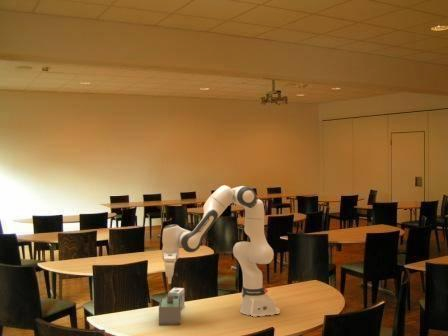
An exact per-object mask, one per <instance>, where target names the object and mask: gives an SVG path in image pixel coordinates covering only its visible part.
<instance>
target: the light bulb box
mask: <svg viewBox="0 0 448 336" xmlns="http://www.w3.org/2000/svg"><path fill="white" fill-rule="evenodd" d="M170 295H171V296H173V299H181V310H183V309H184V307H185V288H184V287H173V288H171V290H169V292H168V293H167V296H170Z"/></svg>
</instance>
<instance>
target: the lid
mask: <svg viewBox="0 0 448 336" xmlns="http://www.w3.org/2000/svg"><path fill="white" fill-rule="evenodd" d="M161 299H162V303H161V307H179V299H173V296H171V295H170V296H169V295H167V296H166V298H161Z"/></svg>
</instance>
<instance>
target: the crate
mask: <svg viewBox="0 0 448 336" xmlns="http://www.w3.org/2000/svg"><path fill="white" fill-rule="evenodd" d="M162 299H163V298H160V301H159V305H158V326H179V325H181V314H182V313H181V311H182V309H181V299H179V307H161V303H162Z"/></svg>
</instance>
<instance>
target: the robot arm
mask: <svg viewBox="0 0 448 336" xmlns="http://www.w3.org/2000/svg"><path fill="white" fill-rule="evenodd" d="M231 204H233V205H236V206H238V207H239V206H240V207H243V208H244V227H243V230H244V233H245V235H247V236H248V238H249V241H239V242H235V244H234V245H233V248H232V254H233V257H234V258H235V259H236V260H237V261H238V263H239V265H240V269H241V273H242V286H241V297H242V300H241V304H240V305H241V306H240V310H239V312H240V313H241V314H243V315H245V314H246V316H250V315H251V316H250V317H252V316H253V317H254V318H258V317H257V316H260V317H266V316H265V315H271V316H274V315H273V314H278V313H280V314H281V310H280V308H279V307H277V304H276V301H275V299H273V297H272V296H270V295H269V294H267V293H268V292H269V291H268V289H267V288H266V287H265V286H263V277H264V275H263V272H262V271H261V269H260V268H258V266H257V264H258V265H267V264H271V262H273V261H272V260H273V259H274V254H275V253H274V249H273V248H272V247H271V245H270V244H269V243H268V240H267V239H266V236H265V205H264V202H263V201H262V200H261V199H259V198H258V197H257V195H256V191H255V190H254V189H253V188H252V187H250V186H246V185H245V186H244V185H240V186H234V187H230V186H228V185H225V184H224V185H221V186H220V187H218V188H217V189H216V190H214V192H213V193H212V194H211V195H210V196H209V197H208V198H207V199H206V201H205V202H204V205H203V207H202V208H203V211H202V212H203V216H202V219H201V220H200V222H199V223H198V224H197V225H196V226H195V228H193V230H189V229H186V228H182V227H180V225H178V224H175V223H174V224H173V223H172V224H168V225H166V226H164V228H163V230H162V235H161V237H162V238H161V239H162V240H161V241H162V249H161V259H163V263H164V270H165V277H167V283H168V285H171V284H172V279H173V277H174V270H175V265H176V262H177V260H178V259H179V258H180V257H179V255H180V252H179V251H180V248H182V249H183V250H184V251H185V252H187V253H196V251H198V250H199V249H200V248H201V245H202V242H203V239H204V238H205V236H206V235H207V234H208V232H209V231H210V230H211V228H212V226H213V225H214V224H215V222H216V221H217V220H218V218H219V217H220V216H221V215H222V214H223V212H225V210H226V209H227V208H228V206H229V205H231Z"/></svg>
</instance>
